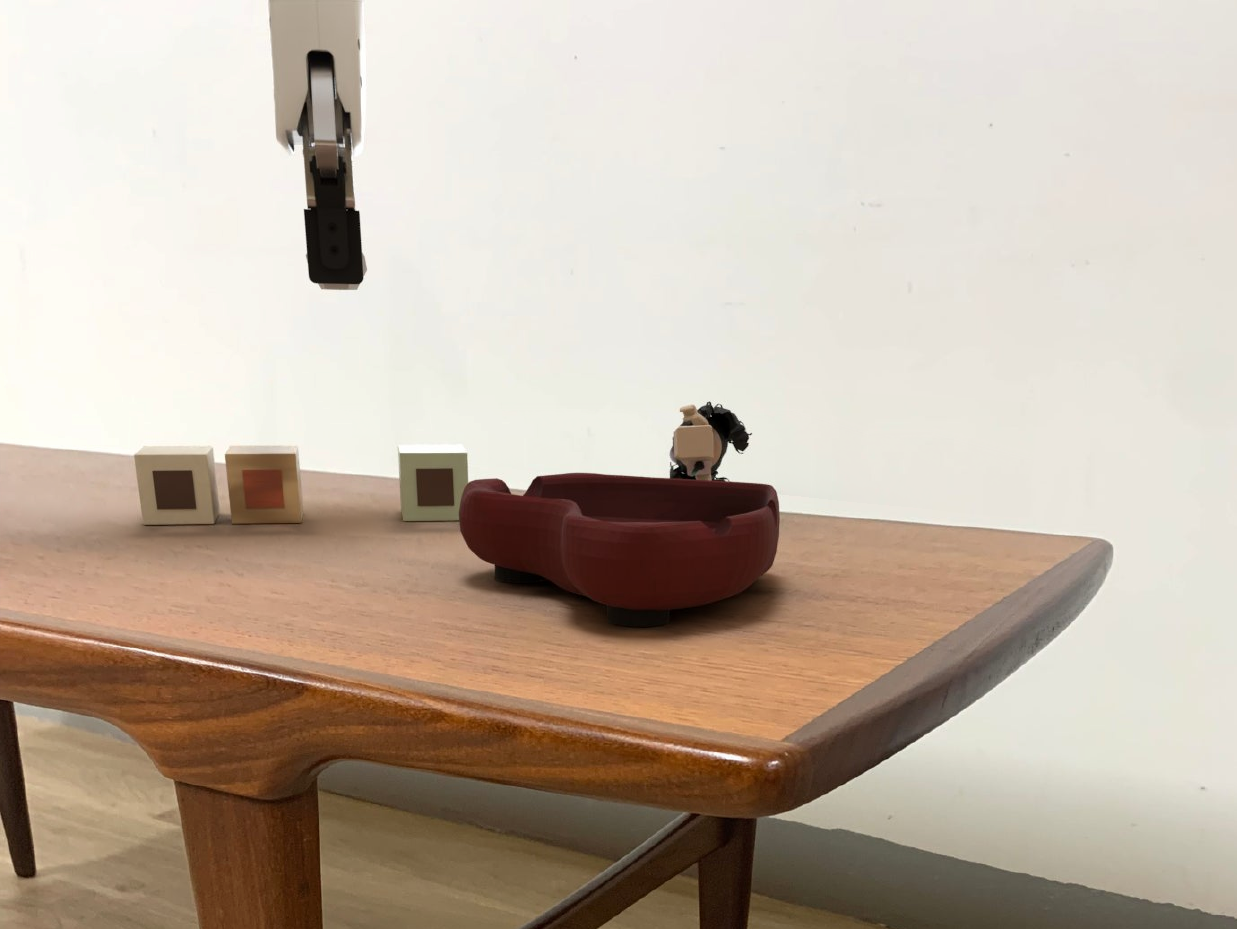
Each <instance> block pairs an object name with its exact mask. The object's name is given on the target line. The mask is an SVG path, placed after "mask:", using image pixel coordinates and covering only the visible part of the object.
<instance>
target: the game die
mask: <svg viewBox="0 0 1237 929" xmlns="http://www.w3.org/2000/svg"><path fill="white" fill-rule="evenodd" d="M365 256H366V255H364V253H363V252H362V262H363V278H365V277H364V276H365V275H366V273H367V271H368V267H367V262H366V257H365ZM305 258H306V261H307V263H308V259H307V253H306V254H305ZM317 285H318V286H319V288H320V290H327V291H328V290H329V291H330V290H333V291H334V290H335V291H358V289H359V286H360V285H361V283H360V284H317Z"/></svg>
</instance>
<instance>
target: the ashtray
mask: <svg viewBox="0 0 1237 929" xmlns="http://www.w3.org/2000/svg"><path fill="white" fill-rule="evenodd" d="M729 481H730V480H729ZM729 481H728V480H725V481H712V480H693V479H674V478H670V477H652V476H651V477H650V476H638V475H636V476H635V475H623V474H622V475H621V474H605V473H597V472H596V473H595V472H565V473H558V474H556V473H555V474H544V475H537V476H536V477H535V478H533V479H532V481H531V483H530V484H529V486H528V487H527V489H526V491H525V493H523V495H519V494H513V493H512V492H511V490H510V487H509V486H508V485H507V483H506V482H505V481H504V480H503V479H500V478H481V479H480V478H479V479H474V480H470V481H468V484H467V485H466V486H465V488H464V491H463V494H462V497H461V502H460V507H459V532H460V533H461V536H462V538H463V540H464V542H465V544H466V546H467V548H468V549H469V550H470V551H471V552H472V553H473V554H474V555H475V556H476V557H477V558H478V559H480V560H481V561H483V562H485V563H488V564H491V565H494V579H495V580H497V581H501V582H503V583H504V582H505V583H510V584H511V583H512V584H514V583H515V584H531V583H532V584H535V583H540V582H545V581H549V582H551V583H553V584H555V585H556V586H557V587H559V588H561V589H563V590H565V591H567V592H570V593H572V594H576V595H580V596H585V597H586V598H589V599H590V600H592V601H593V602H597V603H599V604H602V605H606V620H607V621H608V622H609V623H611V624H614V625H617V626H623V627H632V628H633V627H634V628H644V627H645V628H647V627H648V628H649V627H657V626H661V625H665V624H667V623H669V621H670V614H671V612H670V611H671V610H681V609H682V610H683V609H687V608H694V607H699V606H704V605H708V604H712V603H715V602H718V601H721V600H725V599H728V598H732V597H733V596H735V595H738V594H740V593H742V592H744V591H745V590H746V589H748V588H749V587H751V586H752V584H753V583H755V582H756V581H757V580H758V579H759V578H761V577H763V576H764V575H765V574H766V573H767V572H769V571H770V569H771V568H772V566H773V565H774V562H775V558H776V555H777V552H778V545H779V538H780V523H781V522H780V521H781V520H780V518H781V517H780V501H779V497H778V492H777V490H776V489H775V488H774V486H773V485H771V484H767V483H758V482H742V481H730V482H729Z"/></svg>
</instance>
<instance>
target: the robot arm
mask: <svg viewBox="0 0 1237 929" xmlns="http://www.w3.org/2000/svg"><path fill="white" fill-rule="evenodd" d="M266 10H267V12H266V13H267V25H268V27H267V28H268V40H269V52H270V65H271V67H270V68H271V79H272V80H271V81H272V93H273V94H272V95H273V106H274V108H273V109H274V121H275V124H274V125H275V139H276V141H277V143H278V145H279V146H280V147H281V149H282V150H283V151H284V152H285V153H287V155H289V156H295V146H302V157H303V164H304V181H305V194H306V204H307V205H306V207H307V208H303V217H304V229H305V230H304V231H305V243H306V244H305V245H306V254H307V259H308V262H307V271H308V279H309V281H310V282H311V283H313V284H317V285H318V284H360V285H361V284H362V283H363V281H364V277H363V262H362V253H363V244H362V231H361V230H362V229H361V214H360V210H356V198H355V181H354V158H356V157H358V156H359V155H360V154H361V153H362V152H363V150H364V141H365V140H364V139H365V138H364V137H365V127H366V112H367V111H366V109H367V108H366V107H367V106H366V105H367V62H366V60H367V57H366V32H365V11H364V10H365V9H364V0H266ZM307 259H306V260H307Z"/></svg>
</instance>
